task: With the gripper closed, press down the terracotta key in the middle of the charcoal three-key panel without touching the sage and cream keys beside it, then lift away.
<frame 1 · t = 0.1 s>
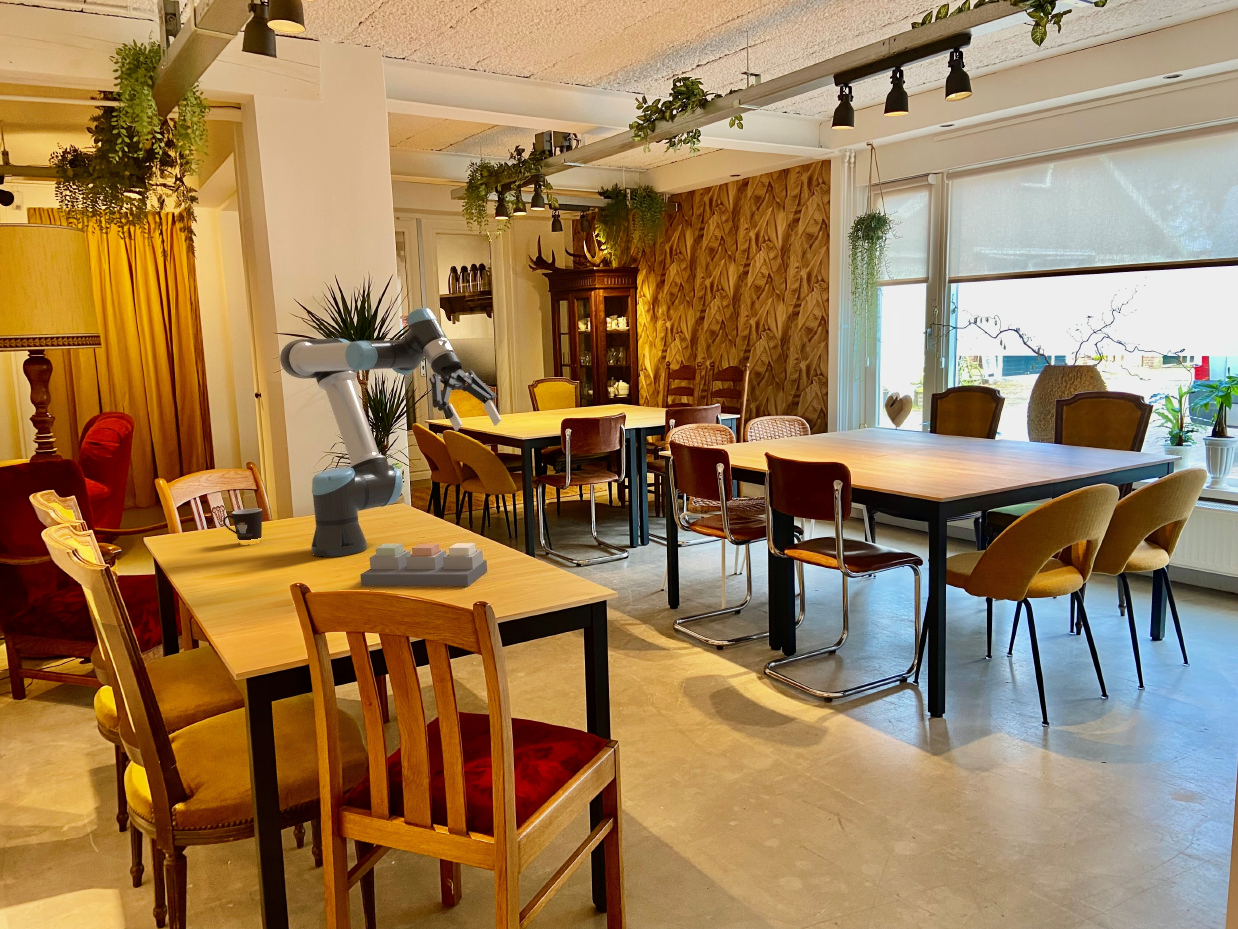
hand: (479, 425, 229), 36 cm above the table, tool tilted 35°, fingers open, 13 cm apart
key panel: (425, 578, 218), on the table
sage key: (389, 552, 220), point 6 cm above the table, slide at 0.0 cm
cream key: (462, 551, 217), point 6 cm above the table, slide at 0.0 cm
terracotta key: (426, 552, 218), point 6 cm above the table, slide at 0.0 cm
coffee mug: (247, 543, 272), on the table
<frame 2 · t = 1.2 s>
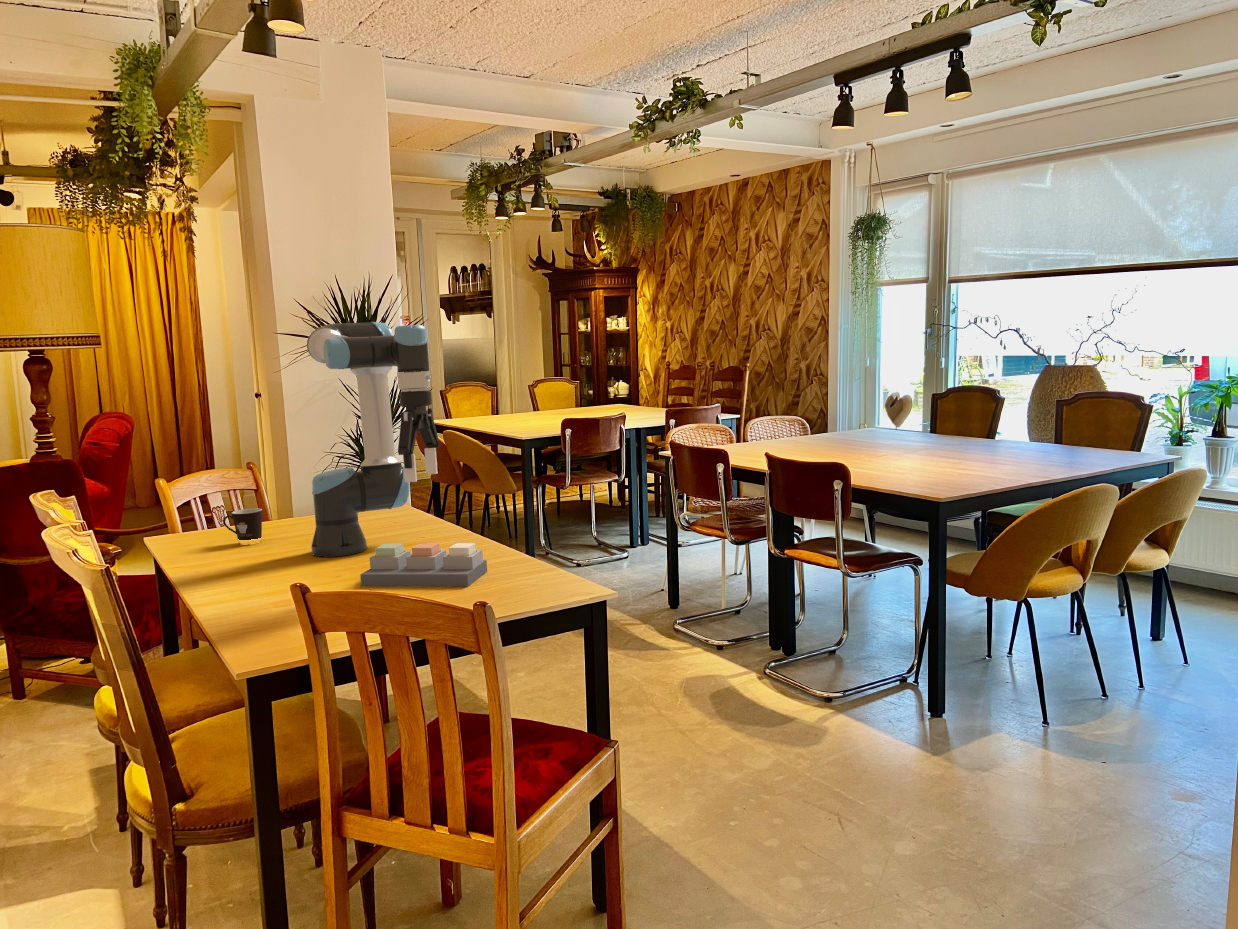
hand: (421, 477, 216), 25 cm above the table, tool pointing down, fingers open, 12 cm apart
nothing on the table moved.
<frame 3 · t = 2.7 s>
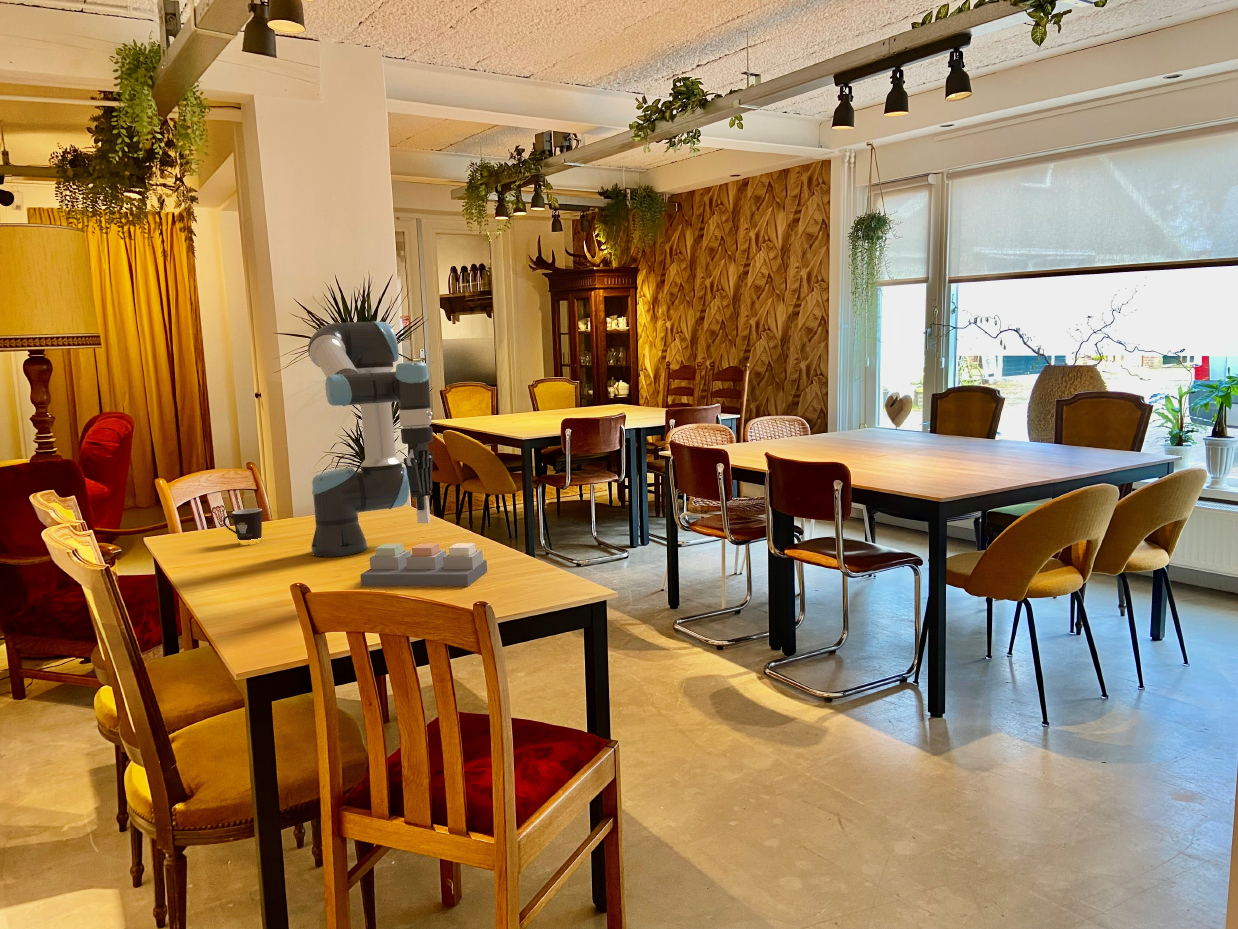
hand: (424, 522, 217), 14 cm above the table, tool pointing down, fingers closed
nothing on the table moved.
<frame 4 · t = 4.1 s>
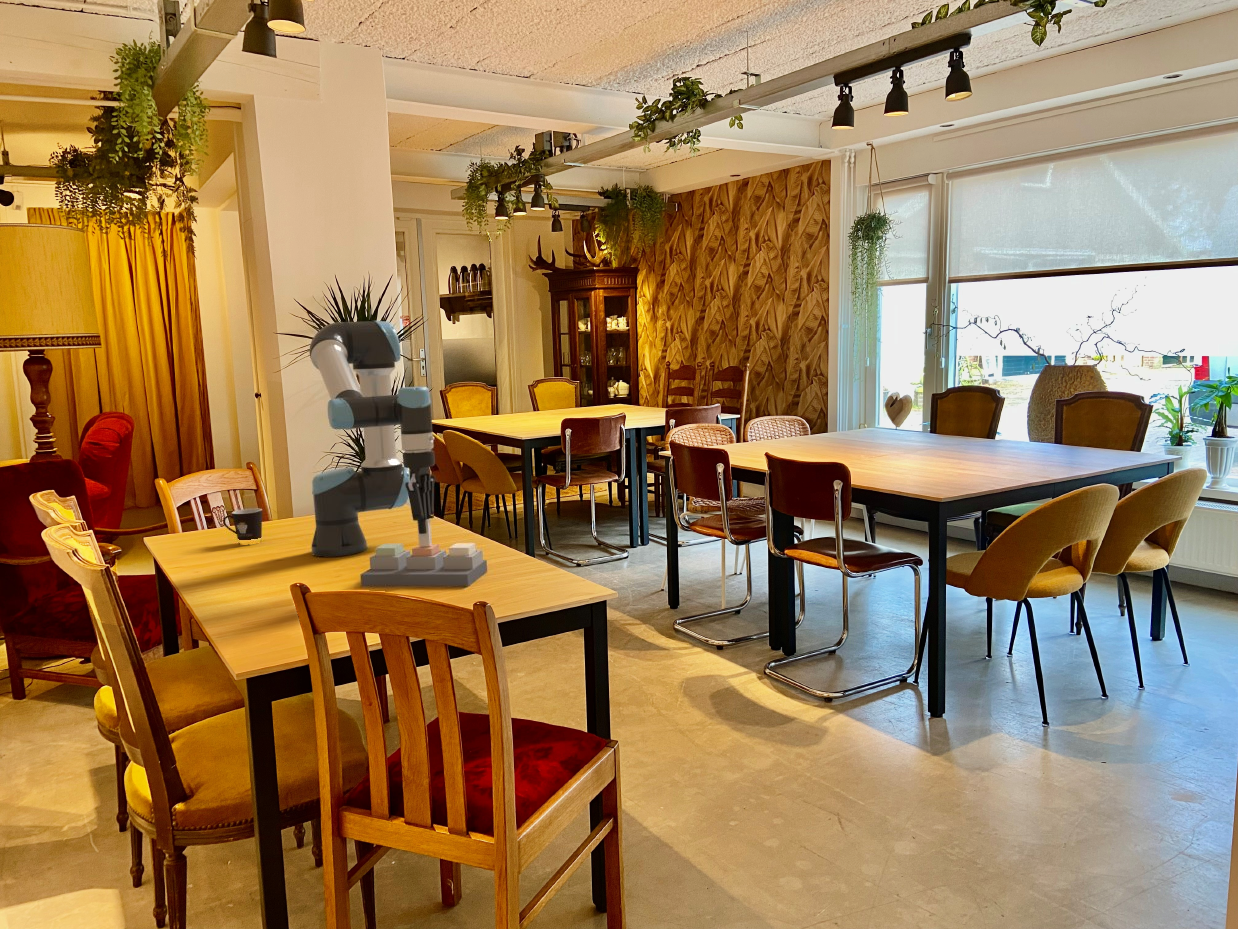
hand: (425, 545, 218), 8 cm above the table, tool pointing down, fingers closed
terracotta key: (426, 553, 218), point 6 cm above the table, slide at 0.3 cm, touching gripper
everything else where it was.
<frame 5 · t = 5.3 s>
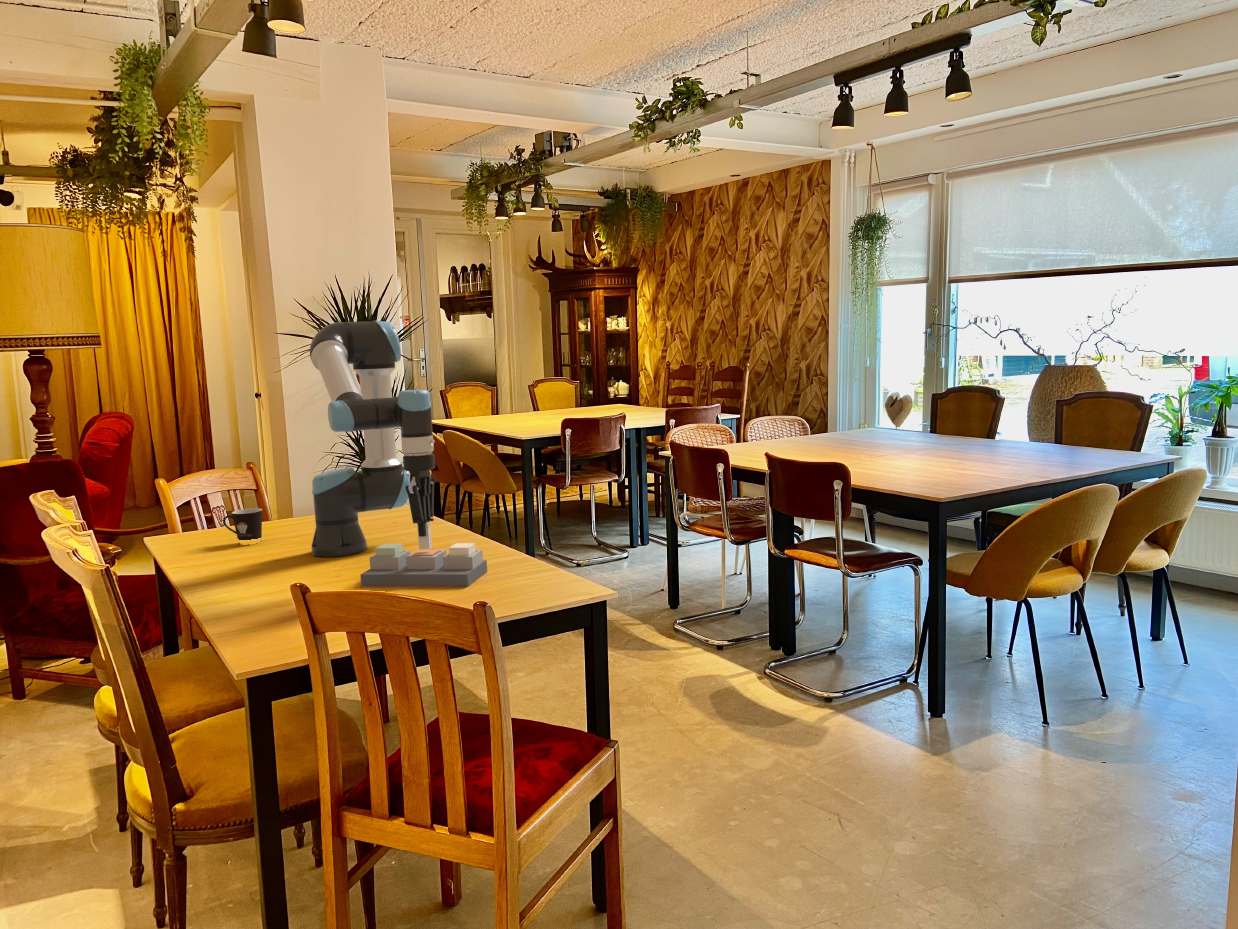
hand: (425, 548, 218), 7 cm above the table, tool pointing down, fingers closed
terracotta key: (426, 558, 219), point 5 cm above the table, slide at 1.6 cm
everything else where it was.
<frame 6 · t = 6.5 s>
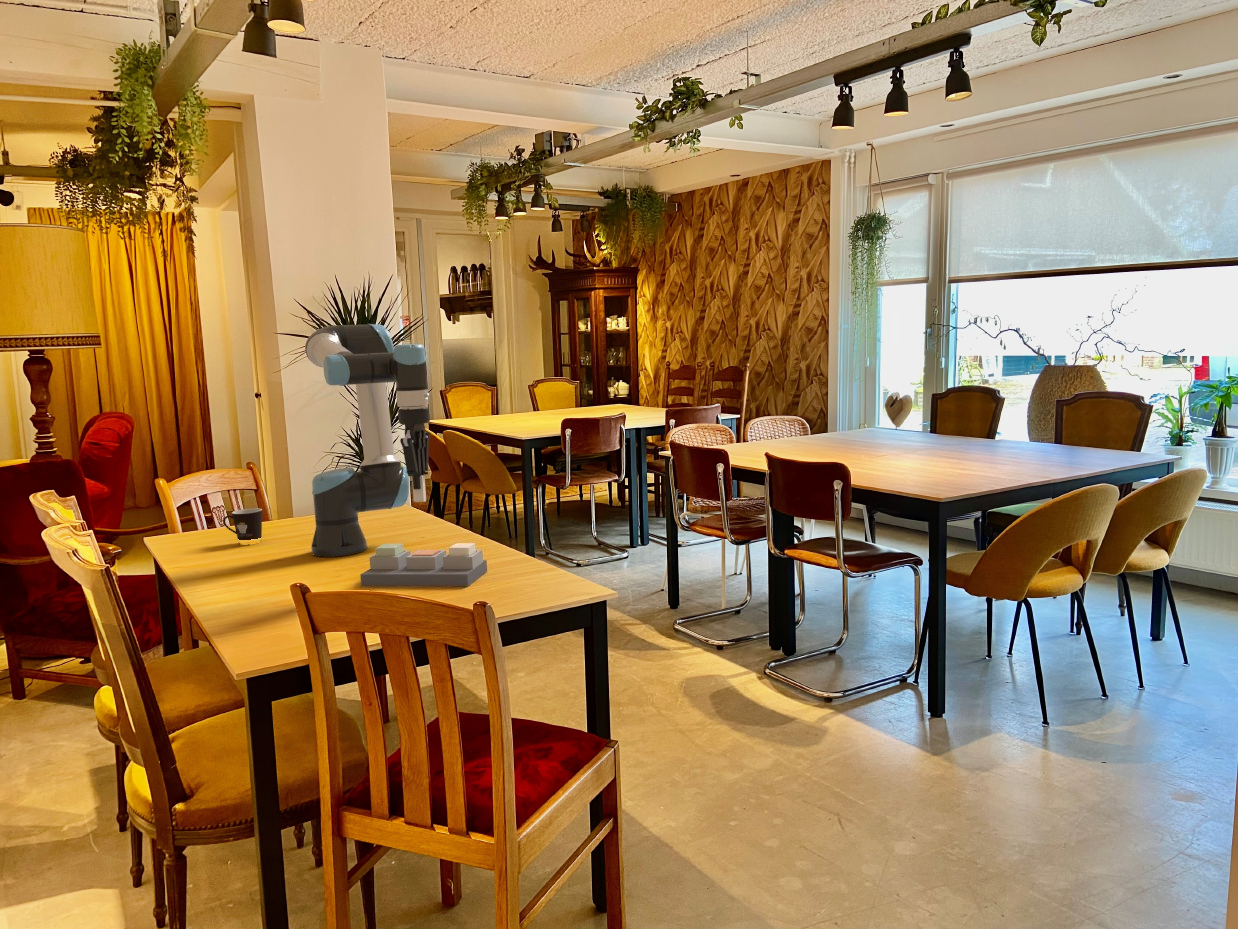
hand: (419, 501, 222), 18 cm above the table, tool pointing down, fingers closed
nothing on the table moved.
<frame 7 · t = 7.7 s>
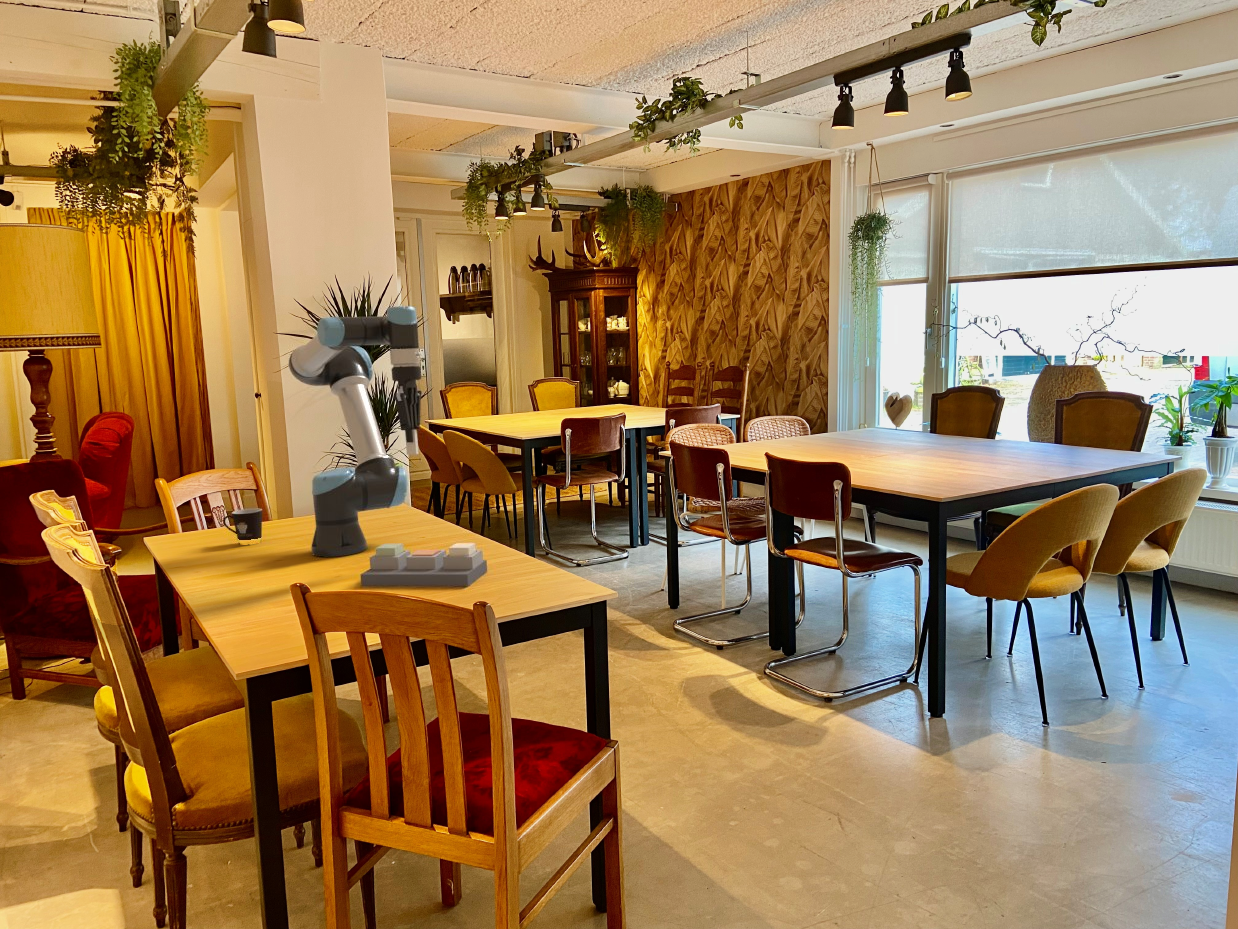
hand: (412, 454, 237), 28 cm above the table, tool pointing down, fingers closed
nothing on the table moved.
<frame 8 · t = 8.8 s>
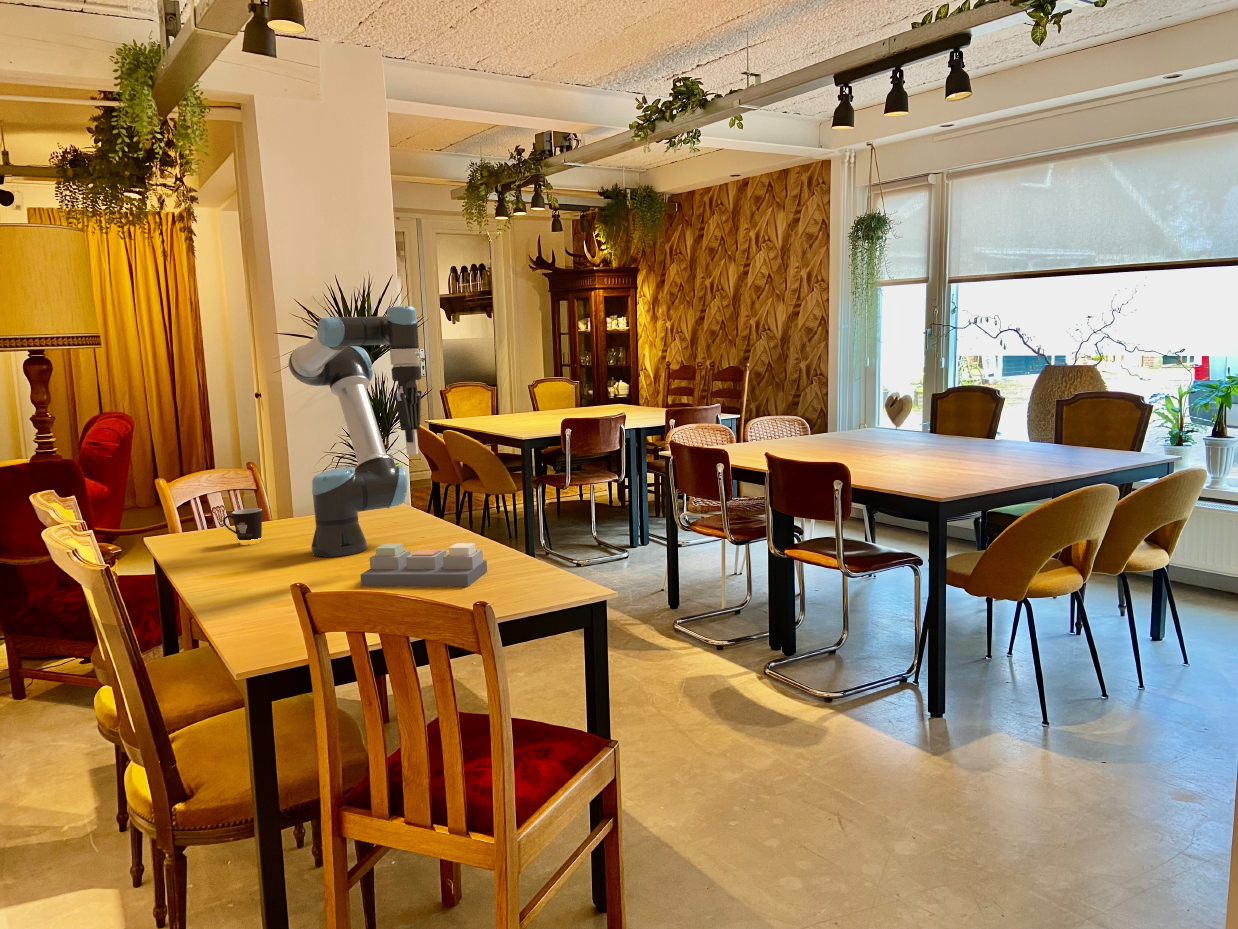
hand: (412, 454, 237), 28 cm above the table, tool pointing down, fingers closed
nothing on the table moved.
at the end: terracotta key slide at 1.6 cm; sage key slide at 0.0 cm; cream key slide at 0.0 cm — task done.
